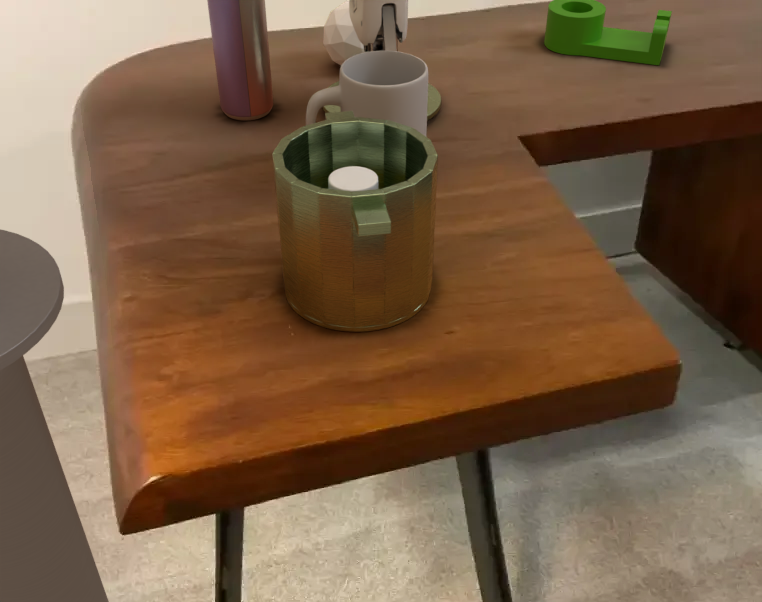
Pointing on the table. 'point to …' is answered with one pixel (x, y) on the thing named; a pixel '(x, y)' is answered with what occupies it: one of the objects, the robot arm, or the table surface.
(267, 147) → the table surface
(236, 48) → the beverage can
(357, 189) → the supplement bottle
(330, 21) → the geometric ball
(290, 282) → the pot
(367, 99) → the mug
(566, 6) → the tape dispenser
